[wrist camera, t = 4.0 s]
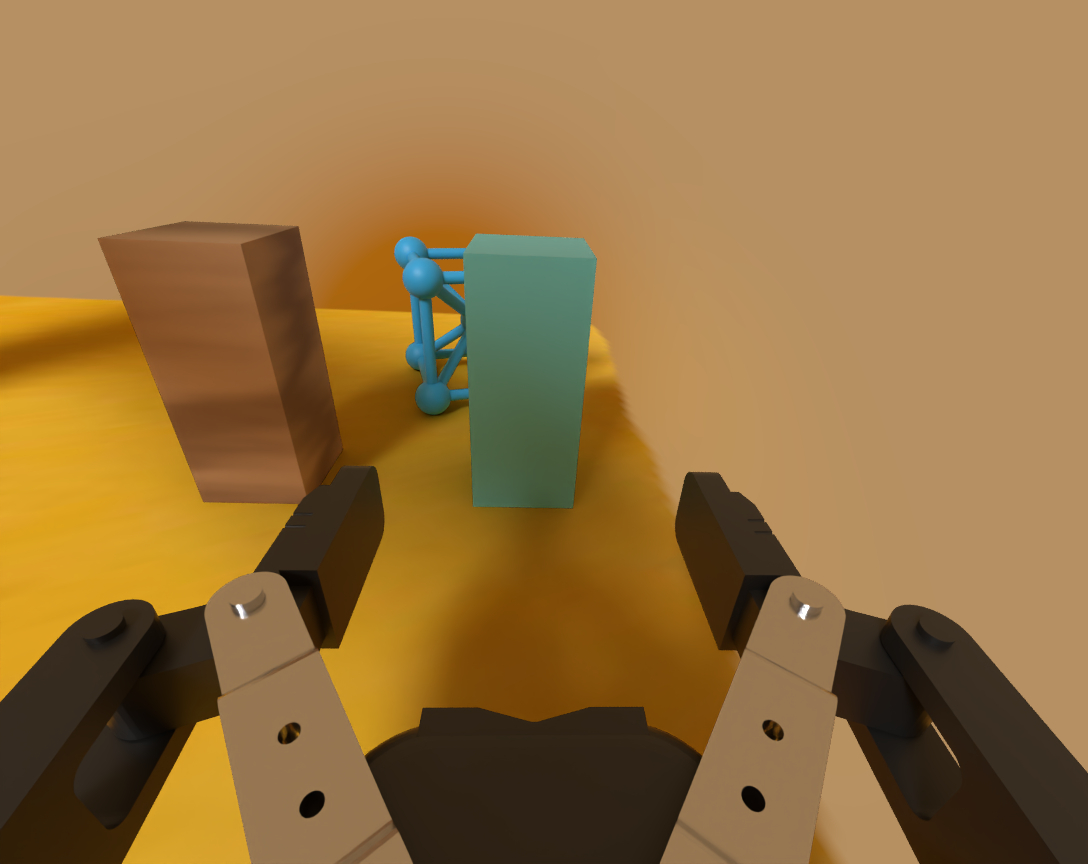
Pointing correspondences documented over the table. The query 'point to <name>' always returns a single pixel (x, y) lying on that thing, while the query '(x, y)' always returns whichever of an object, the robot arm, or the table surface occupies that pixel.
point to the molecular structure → (422, 354)
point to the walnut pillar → (233, 353)
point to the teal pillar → (526, 365)
